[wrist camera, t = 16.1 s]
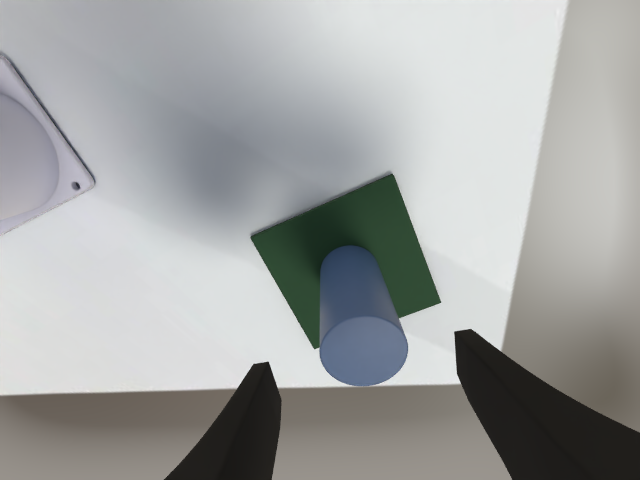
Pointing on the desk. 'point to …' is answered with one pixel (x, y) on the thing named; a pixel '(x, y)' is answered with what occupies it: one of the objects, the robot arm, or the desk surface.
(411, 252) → the mat
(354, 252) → the peg
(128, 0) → the desk surface
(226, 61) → the desk surface
